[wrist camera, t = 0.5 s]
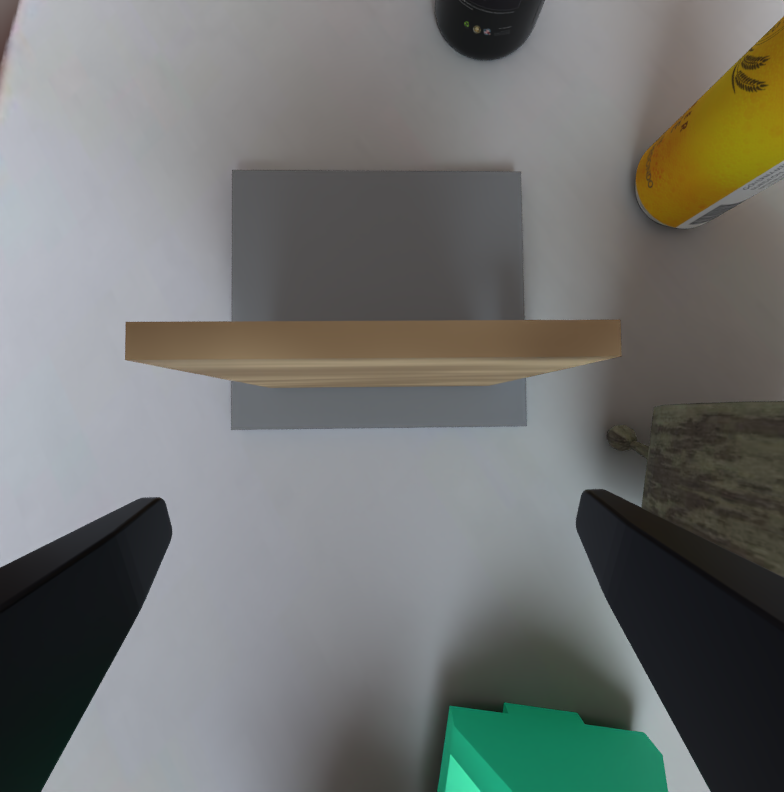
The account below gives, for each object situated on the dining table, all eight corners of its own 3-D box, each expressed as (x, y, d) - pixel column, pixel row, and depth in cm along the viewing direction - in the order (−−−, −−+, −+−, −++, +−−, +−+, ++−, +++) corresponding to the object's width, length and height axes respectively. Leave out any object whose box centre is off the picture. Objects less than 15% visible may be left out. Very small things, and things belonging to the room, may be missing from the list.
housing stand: (527, 425, 25) (584, 431, 18) (237, 428, 24) (179, 436, 17) (521, 181, 25) (574, 93, 18) (238, 179, 25) (181, 89, 18)
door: (488, 385, 23) (621, 356, 10) (269, 387, 23) (125, 360, 10) (488, 369, 23) (620, 319, 10) (269, 371, 23) (125, 322, 10)
